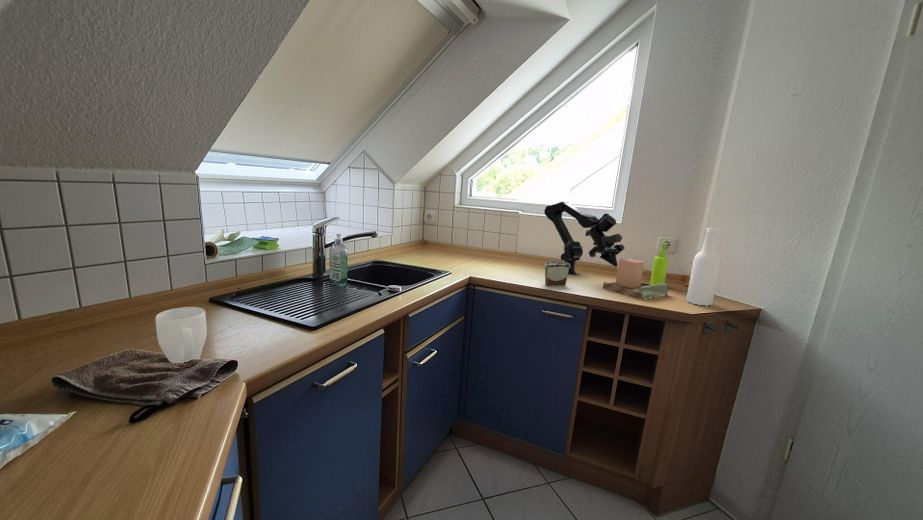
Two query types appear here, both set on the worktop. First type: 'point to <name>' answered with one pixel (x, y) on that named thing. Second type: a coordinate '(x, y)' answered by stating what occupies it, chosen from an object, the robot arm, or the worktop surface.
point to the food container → (556, 273)
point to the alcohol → (704, 271)
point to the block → (629, 272)
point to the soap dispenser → (659, 266)
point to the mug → (181, 333)
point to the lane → (638, 289)
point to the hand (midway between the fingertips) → (616, 265)
